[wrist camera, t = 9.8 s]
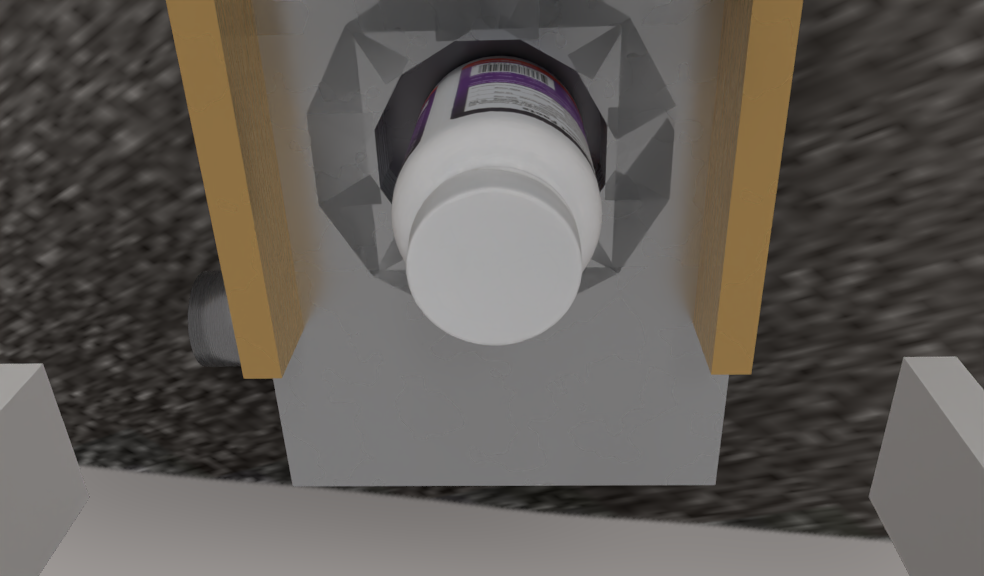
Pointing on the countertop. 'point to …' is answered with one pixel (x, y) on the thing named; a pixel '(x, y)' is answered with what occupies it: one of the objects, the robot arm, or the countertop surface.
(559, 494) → the countertop surface
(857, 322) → the countertop surface
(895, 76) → the countertop surface
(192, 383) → the countertop surface
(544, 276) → the pill bottle
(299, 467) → the grey clamp fixture
